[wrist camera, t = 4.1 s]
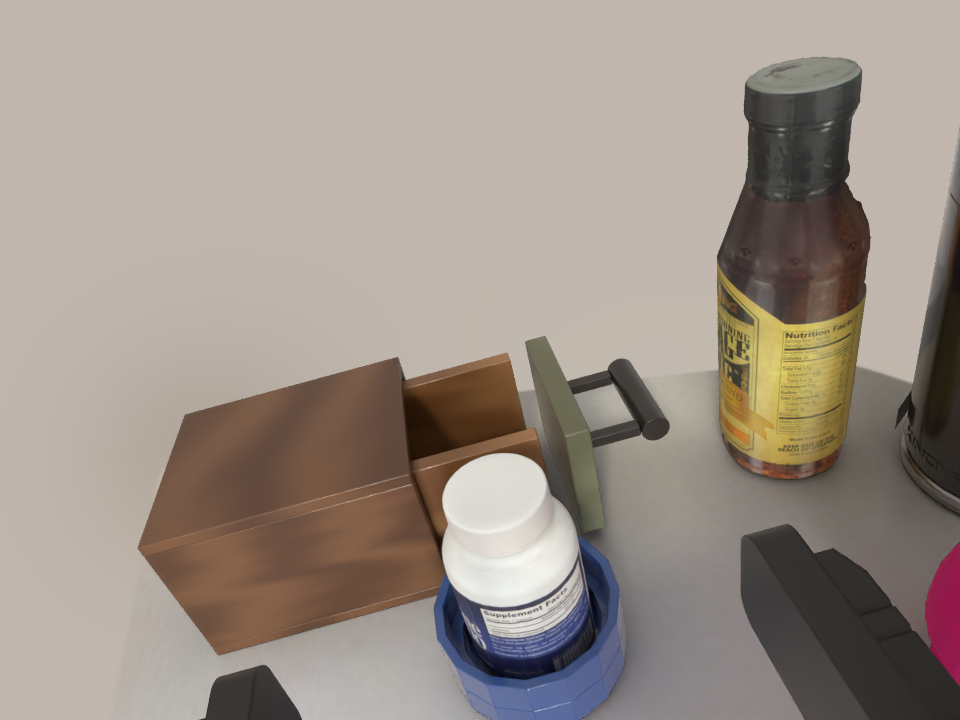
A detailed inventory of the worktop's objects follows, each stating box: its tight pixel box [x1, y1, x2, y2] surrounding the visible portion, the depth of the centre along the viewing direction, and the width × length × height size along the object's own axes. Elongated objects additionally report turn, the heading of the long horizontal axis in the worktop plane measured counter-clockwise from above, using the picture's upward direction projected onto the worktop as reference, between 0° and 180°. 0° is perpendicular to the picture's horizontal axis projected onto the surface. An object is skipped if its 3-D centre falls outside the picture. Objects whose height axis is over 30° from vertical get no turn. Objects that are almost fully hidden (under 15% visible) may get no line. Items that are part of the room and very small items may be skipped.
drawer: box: [403, 336, 670, 552], centre depth 36 cm, size 16×8×7 cm, turn 99°
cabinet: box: [138, 357, 446, 655], centre depth 35 cm, size 12×10×8 cm
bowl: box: [434, 536, 626, 720], centre depth 29 cm, size 8×8×4 cm
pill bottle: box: [442, 453, 596, 680], centre depth 27 cm, size 5×5×10 cm
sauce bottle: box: [717, 57, 871, 479], centre depth 31 cm, size 7×6×20 cm
